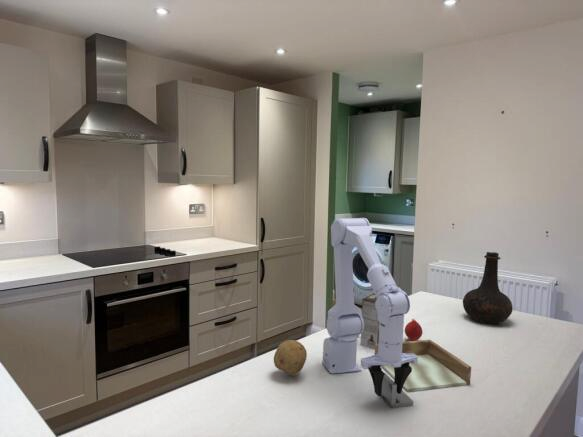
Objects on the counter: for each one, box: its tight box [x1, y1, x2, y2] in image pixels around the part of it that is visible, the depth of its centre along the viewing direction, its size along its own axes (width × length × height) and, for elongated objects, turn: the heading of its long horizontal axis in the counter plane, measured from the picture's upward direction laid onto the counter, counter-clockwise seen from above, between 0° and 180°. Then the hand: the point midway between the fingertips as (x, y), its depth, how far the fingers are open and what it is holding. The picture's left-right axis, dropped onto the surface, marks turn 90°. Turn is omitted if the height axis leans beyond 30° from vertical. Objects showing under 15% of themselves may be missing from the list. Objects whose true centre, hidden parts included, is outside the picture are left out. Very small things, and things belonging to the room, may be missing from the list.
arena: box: [373, 339, 472, 393], centre depth 116 cm, size 19×19×5 cm
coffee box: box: [360, 292, 380, 350], centre depth 135 cm, size 9×6×16 cm
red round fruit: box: [404, 318, 423, 341], centre depth 138 cm, size 6×6×8 cm
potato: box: [273, 339, 308, 377], centre depth 112 cm, size 9×9×10 cm
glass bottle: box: [462, 251, 513, 325], centre depth 162 cm, size 18×18×28 cm
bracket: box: [379, 372, 414, 409], centre depth 100 cm, size 6×6×6 cm
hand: (387, 392), depth 100 cm, fingers open, 5 cm apart
